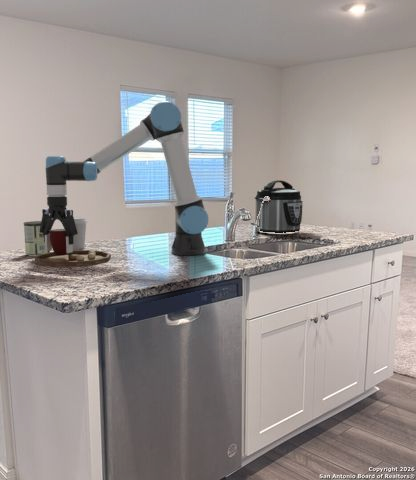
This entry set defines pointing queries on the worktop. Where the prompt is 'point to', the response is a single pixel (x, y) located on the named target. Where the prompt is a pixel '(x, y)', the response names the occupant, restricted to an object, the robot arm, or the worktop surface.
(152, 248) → the worktop surface
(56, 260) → the ring tray
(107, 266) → the worktop surface
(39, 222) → the coffee can
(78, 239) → the coffee cup
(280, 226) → the pressure cooker
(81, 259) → the bead
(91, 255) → the bead
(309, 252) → the worktop surface
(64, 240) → the mug
